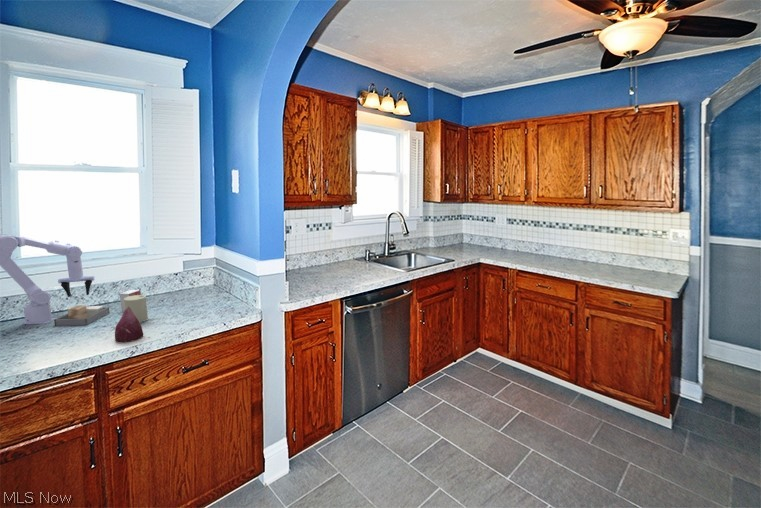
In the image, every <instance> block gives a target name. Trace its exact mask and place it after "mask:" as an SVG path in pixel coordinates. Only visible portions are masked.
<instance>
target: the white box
mask: <svg viewBox="0 0 761 508" xmlns="http://www.w3.org/2000/svg"><path fill="white" fill-rule="evenodd" d="M104 307H105V306H104V305H91V306H90V305H88V306H87V305H86V309H87V317H90V316H92V315H94V314H96V313H98V312H99V311H101V310H103V308H104Z"/></svg>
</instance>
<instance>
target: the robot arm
mask: <svg viewBox="0 0 761 508" xmlns="http://www.w3.org/2000/svg"><path fill="white" fill-rule="evenodd" d="M25 246H29V247H32V248H39V249H44V250H46V252H47V253H50V254H54V255H58V256H65V257H66V265H67V272H68V277H65V278H64V277H63V278H58V279H57V282H58V284H60V287H62V288H63V290H64V292H65V293H66V295H67V297H68V298H70V297H71V296H72V294H71V288H70V283H77V282H79V283H80V282H84V286H85V293H86V296H89V295H90V290H91V289H90V288H91V286H92V282H93V281H95V276H94V275H92V276H87V275H86V276H84V272H83V265H82V257H81V256H82V255H83V251H82V250H81V248H80V247H79V246H75V245H72V244H70V243H63V242H60V241H58V240H51V241H49V242H45V241H41V240H37V239H33V238H29V237H25V236H20V235H18V236H17V235H9V234H0V267H1V268H2V270H4V271H5V273H7V274H8V276H10V277H11V278H12V279H13V280H14V282H16V283H17V284H18V285H19V287H21V288H22V289H23V291H24V293H25V294H26V296H27V299H28V300H29V301H30V303H28V304H26V305H25V306H24V309H23V315H24V321H25V322H24V325H25V324H26V325H31V324H37V325H38V324H39V325H40V324H48V323H49V322H51V321H54V320H55V319H57V317H53V314H52V309H51V294H49V293H48V292H47V291H44V290H43V289H42V288H41V287H39V286H38V285H37V284H36V283H35V282H34V281H33V280H32V279H31V278H30V276H29V275H27V273H25V271H24V270H22V269H21V268H20V266H18V264H17V263H16V262H15V261H14V260H13V259H12V258H11V257H12V254H13V252H14V251H15V250H16V248H17V247H19V248H21V247H25Z"/></svg>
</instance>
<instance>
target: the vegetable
mask: <svg viewBox="0 0 761 508" xmlns="http://www.w3.org/2000/svg"><path fill="white" fill-rule="evenodd" d="M122 313H123V314H122V316H121V318H120V319H119V321H118V323H116V326H115V329H114V340H115V342H117V343H121V344H123V343H125V344H126V343H130V342H133V341H137V340H139V339H141V337H142V338H143V337H144V336H143V335H144V330H143V327H142V325H141V322H139V320H138V319H137V318H136V316H135V315H134V313H133V312H132V310H131V308H129V306H128V307H127V308H126V309H125V311H124V312H122Z"/></svg>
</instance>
